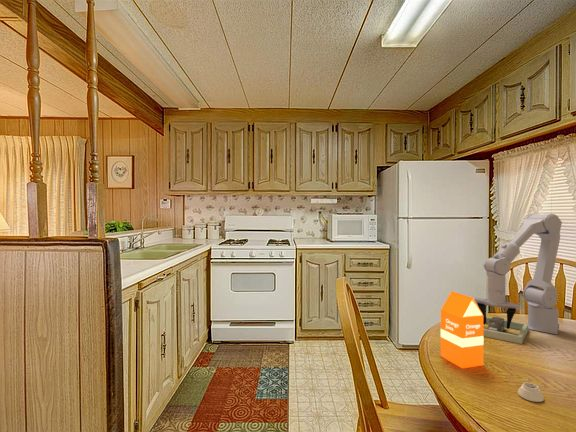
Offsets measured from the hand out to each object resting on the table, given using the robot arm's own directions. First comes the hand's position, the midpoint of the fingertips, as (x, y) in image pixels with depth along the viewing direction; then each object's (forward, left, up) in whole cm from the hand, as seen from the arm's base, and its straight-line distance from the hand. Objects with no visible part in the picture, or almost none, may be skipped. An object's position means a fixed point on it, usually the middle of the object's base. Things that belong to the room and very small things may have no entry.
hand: (496, 325), depth 126 cm
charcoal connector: (0, 0, -2) cm, 2 cm away
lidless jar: (-15, +47, -2) cm, 50 cm away
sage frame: (0, 0, -2) cm, 2 cm away
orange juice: (+3, +36, -2) cm, 37 cm away
